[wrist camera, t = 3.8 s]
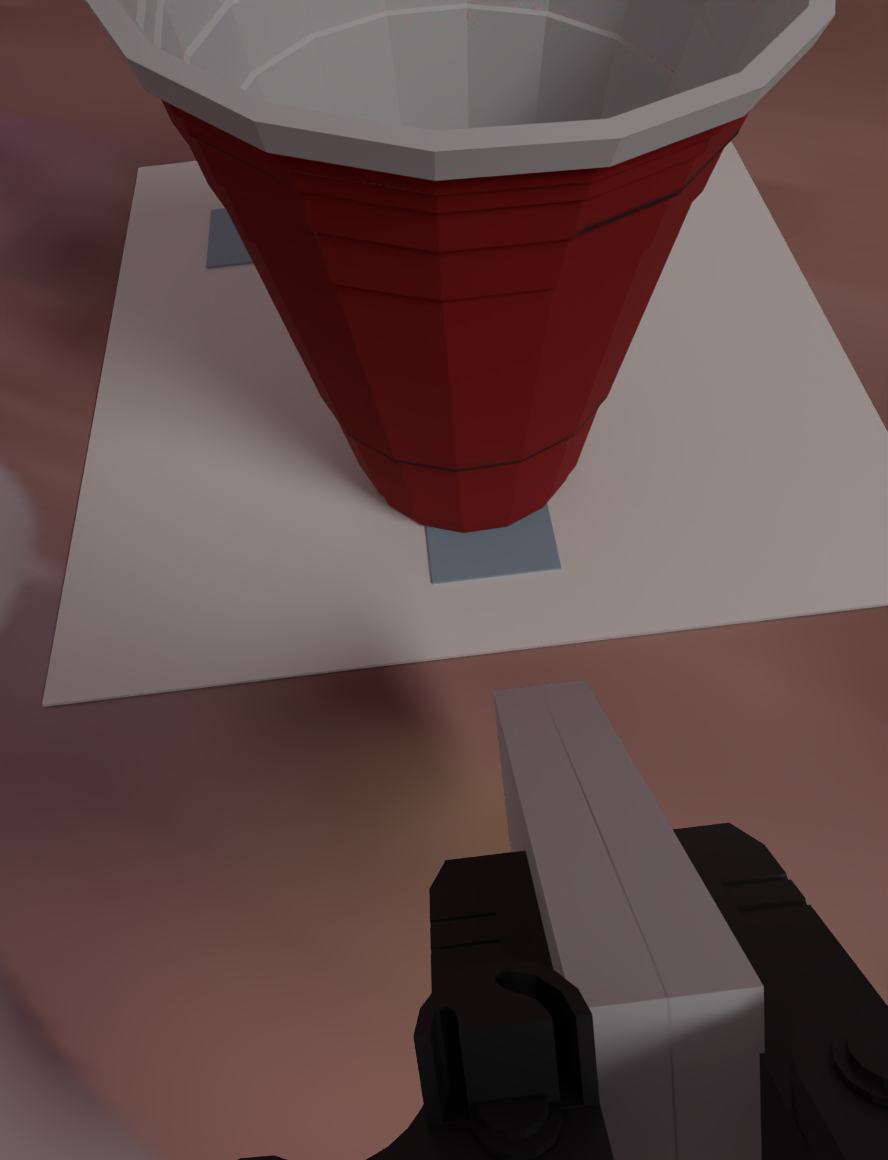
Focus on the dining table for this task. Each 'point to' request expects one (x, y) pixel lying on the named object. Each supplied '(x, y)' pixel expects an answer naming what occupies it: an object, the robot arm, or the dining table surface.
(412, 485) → the plastic cup
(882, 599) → the placemat
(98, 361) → the dining table surface
